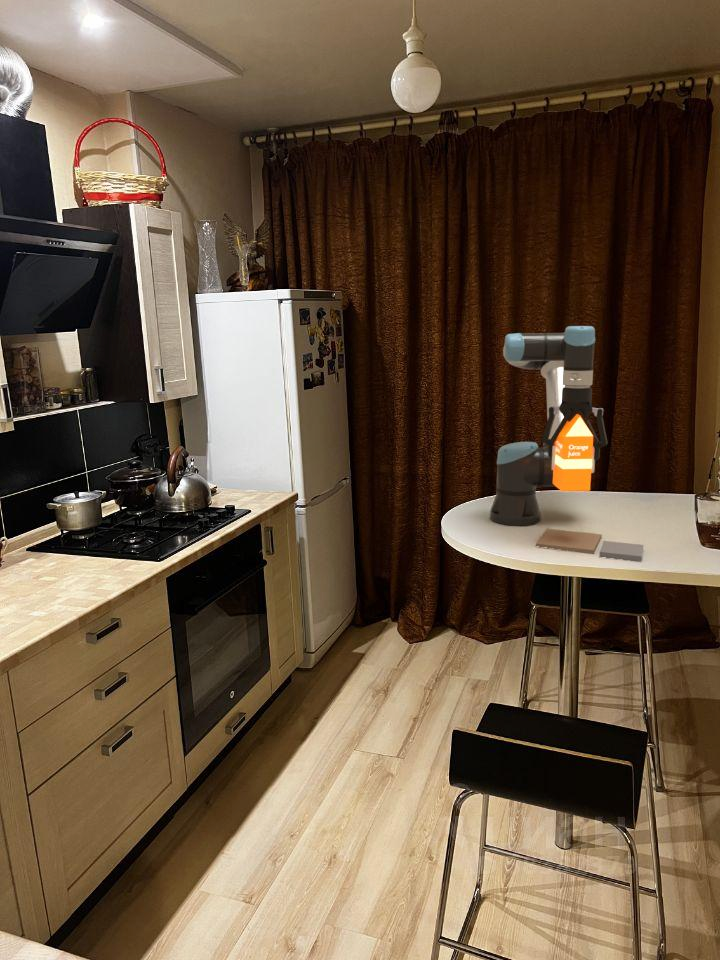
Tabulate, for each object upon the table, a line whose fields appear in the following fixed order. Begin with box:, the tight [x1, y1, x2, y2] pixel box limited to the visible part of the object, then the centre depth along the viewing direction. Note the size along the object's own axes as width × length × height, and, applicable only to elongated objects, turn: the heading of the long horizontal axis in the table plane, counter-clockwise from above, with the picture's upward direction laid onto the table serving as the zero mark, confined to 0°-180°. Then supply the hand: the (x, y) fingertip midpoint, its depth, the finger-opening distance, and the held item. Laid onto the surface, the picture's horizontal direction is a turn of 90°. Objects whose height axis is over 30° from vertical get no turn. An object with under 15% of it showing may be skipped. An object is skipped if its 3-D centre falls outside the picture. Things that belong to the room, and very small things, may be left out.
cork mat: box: [535, 528, 603, 555], centre depth 200 cm, size 15×15×1 cm
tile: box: [599, 540, 644, 563], centre depth 190 cm, size 10×2×10 cm
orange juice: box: [553, 414, 594, 492], centre depth 194 cm, size 8×9×20 cm
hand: (572, 470), depth 195 cm, fingers closed on orange juice, 9 cm apart
